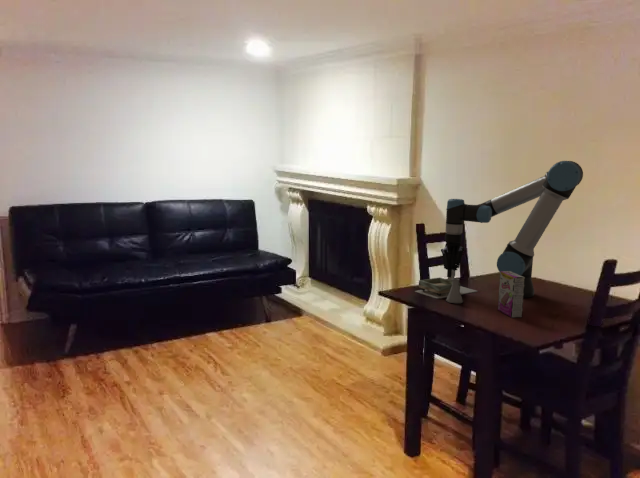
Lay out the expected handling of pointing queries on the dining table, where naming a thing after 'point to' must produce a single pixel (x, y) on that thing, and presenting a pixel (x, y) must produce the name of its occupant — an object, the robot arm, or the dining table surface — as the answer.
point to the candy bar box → (511, 294)
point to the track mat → (443, 295)
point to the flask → (454, 292)
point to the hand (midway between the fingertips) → (450, 283)
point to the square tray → (436, 285)
